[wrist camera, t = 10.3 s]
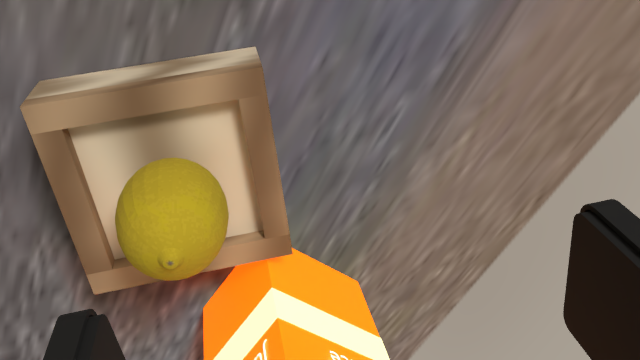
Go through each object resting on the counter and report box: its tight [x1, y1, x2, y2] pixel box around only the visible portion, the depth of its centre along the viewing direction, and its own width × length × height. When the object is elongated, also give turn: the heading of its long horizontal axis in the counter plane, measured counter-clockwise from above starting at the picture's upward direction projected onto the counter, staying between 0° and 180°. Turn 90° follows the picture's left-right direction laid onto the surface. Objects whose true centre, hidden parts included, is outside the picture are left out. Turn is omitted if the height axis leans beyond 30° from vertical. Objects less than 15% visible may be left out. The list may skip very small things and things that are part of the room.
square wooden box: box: [20, 47, 293, 295], centre depth 33 cm, size 12×12×4 cm
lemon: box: [115, 158, 229, 281], centre depth 29 cm, size 6×6×8 cm
